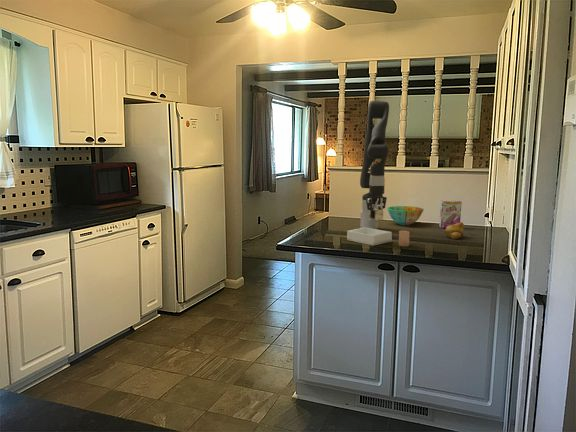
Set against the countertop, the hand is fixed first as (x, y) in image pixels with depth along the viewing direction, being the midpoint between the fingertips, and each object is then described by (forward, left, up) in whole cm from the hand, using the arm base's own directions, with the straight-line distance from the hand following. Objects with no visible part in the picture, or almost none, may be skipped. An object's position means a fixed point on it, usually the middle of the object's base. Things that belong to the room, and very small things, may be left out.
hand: (376, 217), depth 235 cm
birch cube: (0, 0, -1) cm, 1 cm away
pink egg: (+14, +5, -13) cm, 20 cm away
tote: (-4, 0, -13) cm, 13 cm away
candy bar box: (+4, +65, -13) cm, 66 cm away
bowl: (-21, +55, -13) cm, 60 cm away
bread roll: (+20, +41, -13) cm, 48 cm away
